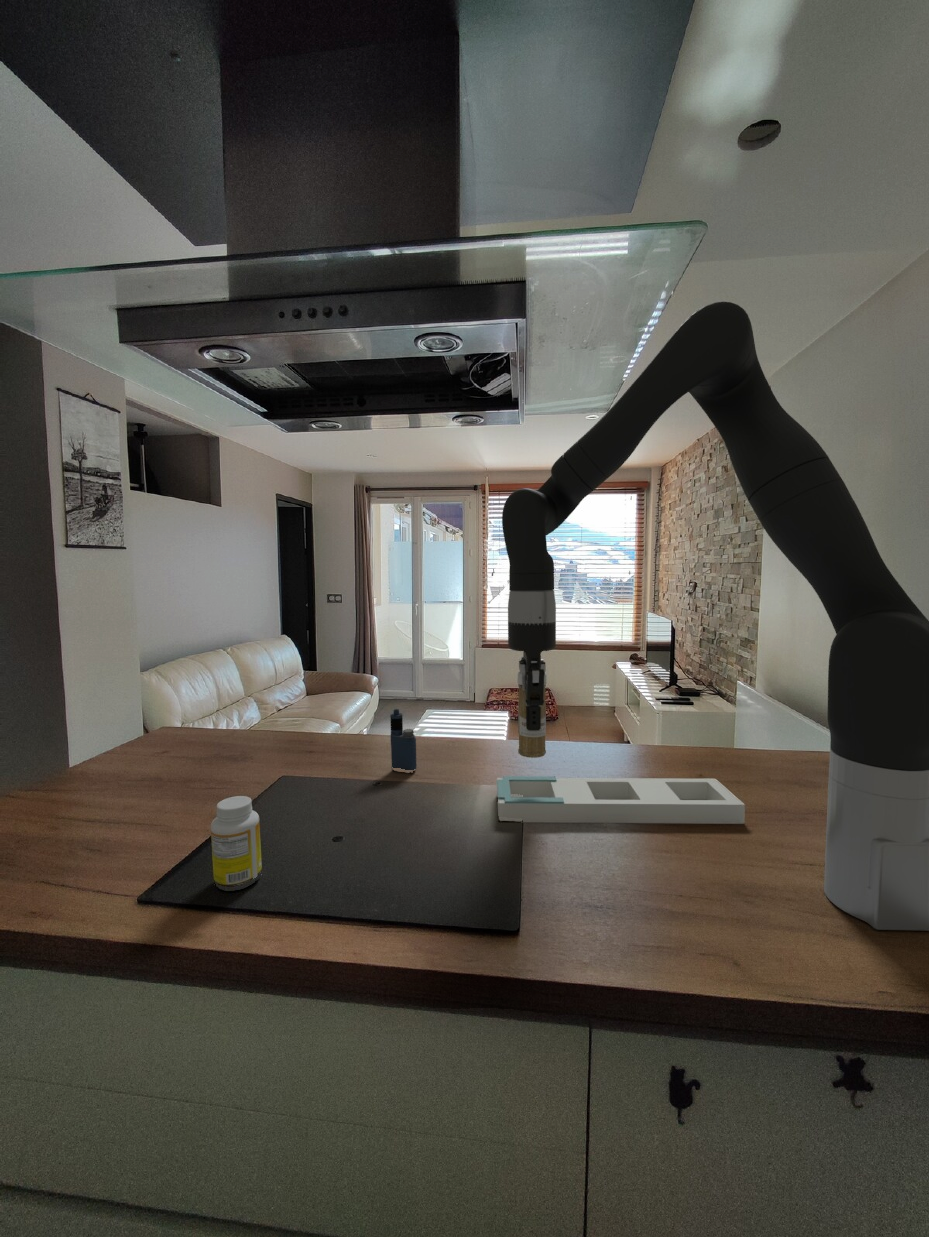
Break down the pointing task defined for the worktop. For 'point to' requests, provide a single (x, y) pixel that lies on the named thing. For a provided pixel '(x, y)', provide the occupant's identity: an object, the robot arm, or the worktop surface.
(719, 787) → the rail
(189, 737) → the worktop surface
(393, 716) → the vaping device
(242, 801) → the supplement bottle
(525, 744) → the sprinkles bottle
